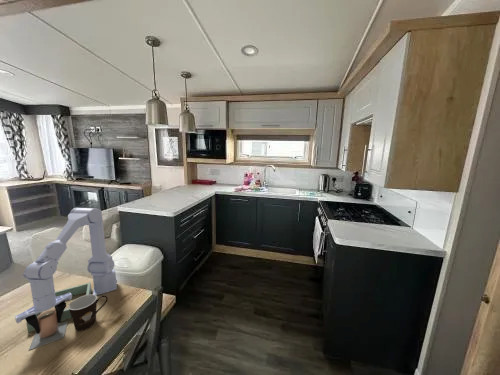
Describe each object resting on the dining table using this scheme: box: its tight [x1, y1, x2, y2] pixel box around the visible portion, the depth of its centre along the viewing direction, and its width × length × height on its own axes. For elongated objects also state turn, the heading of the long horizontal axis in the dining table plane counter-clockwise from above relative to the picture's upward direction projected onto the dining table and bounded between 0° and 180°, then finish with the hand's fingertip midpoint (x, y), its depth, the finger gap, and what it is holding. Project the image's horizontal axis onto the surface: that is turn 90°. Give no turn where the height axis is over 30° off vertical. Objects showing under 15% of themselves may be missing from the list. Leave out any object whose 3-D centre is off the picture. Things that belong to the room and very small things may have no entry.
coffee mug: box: [68, 293, 109, 332], centre depth 80 cm, size 12×9×10 cm
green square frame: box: [26, 281, 92, 333], centre depth 89 cm, size 18×18×4 cm
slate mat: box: [28, 320, 68, 351], centre depth 76 cm, size 9×9×1 cm
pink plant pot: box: [37, 309, 59, 338], centre depth 75 cm, size 5×5×7 cm
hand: (48, 326), depth 75 cm, fingers closed on pink plant pot, 5 cm apart
